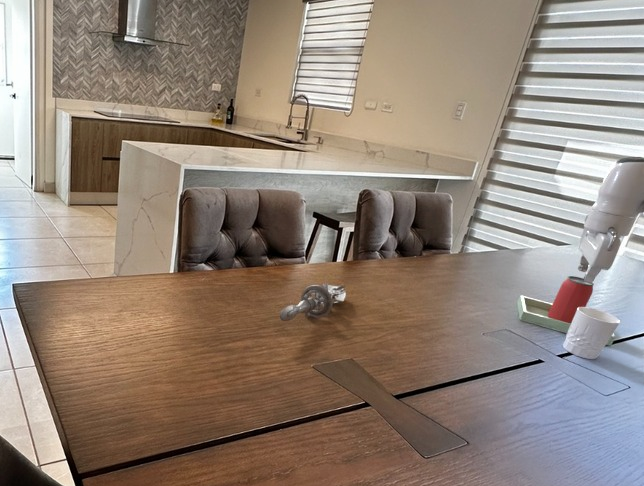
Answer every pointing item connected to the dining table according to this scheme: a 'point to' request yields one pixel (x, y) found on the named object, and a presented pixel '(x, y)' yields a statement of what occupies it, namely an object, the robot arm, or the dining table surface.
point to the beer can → (570, 298)
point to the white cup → (589, 332)
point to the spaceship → (315, 301)
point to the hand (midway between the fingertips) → (584, 275)
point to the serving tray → (543, 315)
